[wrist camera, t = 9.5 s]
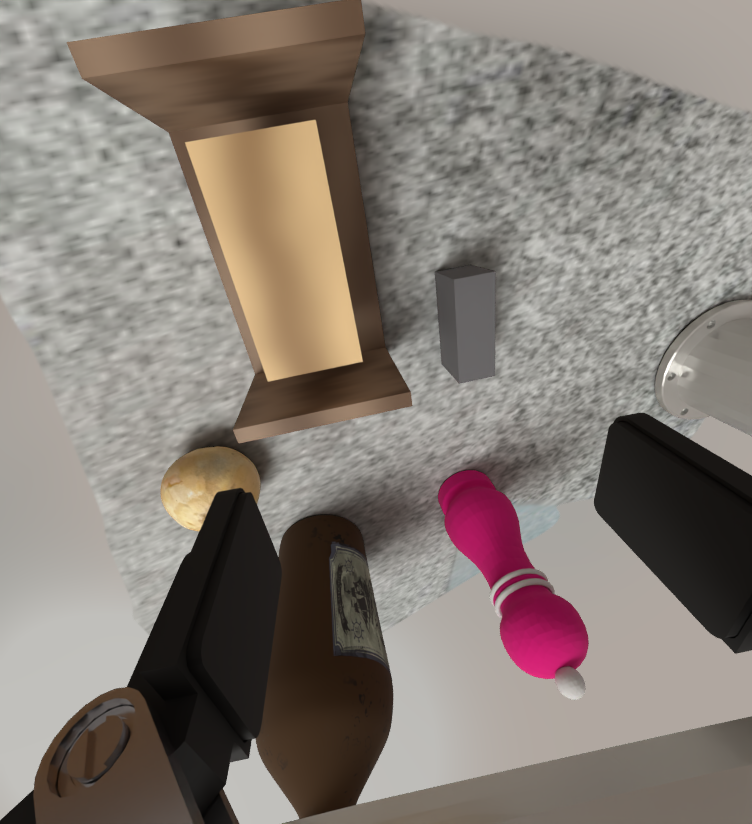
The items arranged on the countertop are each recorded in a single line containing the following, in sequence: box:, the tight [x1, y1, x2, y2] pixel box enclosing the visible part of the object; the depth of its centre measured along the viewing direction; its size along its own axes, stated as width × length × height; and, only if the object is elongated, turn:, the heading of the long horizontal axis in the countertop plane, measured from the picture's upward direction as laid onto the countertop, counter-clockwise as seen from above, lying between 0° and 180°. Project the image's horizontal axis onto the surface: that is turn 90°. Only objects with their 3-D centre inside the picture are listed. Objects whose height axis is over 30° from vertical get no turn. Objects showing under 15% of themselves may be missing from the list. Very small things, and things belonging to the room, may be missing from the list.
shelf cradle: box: [67, 0, 412, 443], centre depth 22 cm, size 11×18×10 cm, turn 9°
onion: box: [161, 446, 260, 531], centre depth 31 cm, size 8×8×7 cm
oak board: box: [185, 120, 363, 382], centre depth 20 cm, size 6×12×2 cm, turn 9°
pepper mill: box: [438, 470, 589, 700], centre depth 31 cm, size 7×7×20 cm
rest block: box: [435, 265, 496, 383], centre depth 28 cm, size 3×8×4 cm, turn 9°
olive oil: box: [256, 515, 393, 819], centre depth 30 cm, size 11×11×25 cm
